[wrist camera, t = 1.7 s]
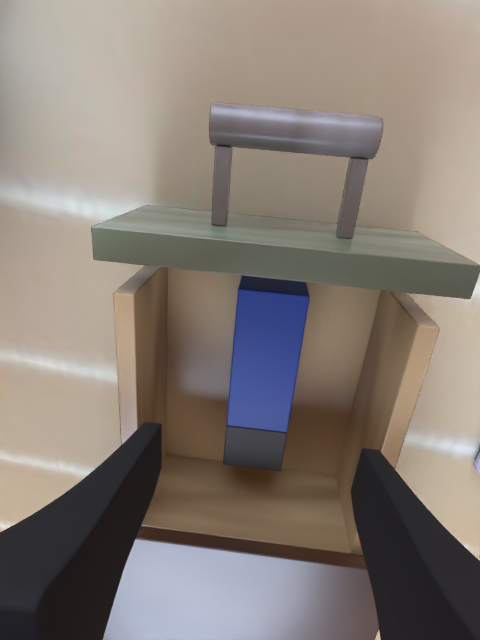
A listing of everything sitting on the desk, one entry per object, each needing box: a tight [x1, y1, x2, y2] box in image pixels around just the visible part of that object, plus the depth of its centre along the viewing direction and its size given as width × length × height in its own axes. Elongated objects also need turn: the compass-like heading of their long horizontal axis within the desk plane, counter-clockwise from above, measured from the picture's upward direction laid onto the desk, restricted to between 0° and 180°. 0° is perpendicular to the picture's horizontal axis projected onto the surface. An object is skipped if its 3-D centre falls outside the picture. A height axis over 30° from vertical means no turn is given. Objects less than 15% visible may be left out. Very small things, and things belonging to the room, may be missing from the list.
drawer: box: [91, 102, 480, 555], centre depth 18 cm, size 20×13×6 cm
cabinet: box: [103, 526, 379, 640], centre depth 25 cm, size 16×14×8 cm
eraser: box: [223, 275, 310, 471], centre depth 19 cm, size 10×3×3 cm, turn 175°
